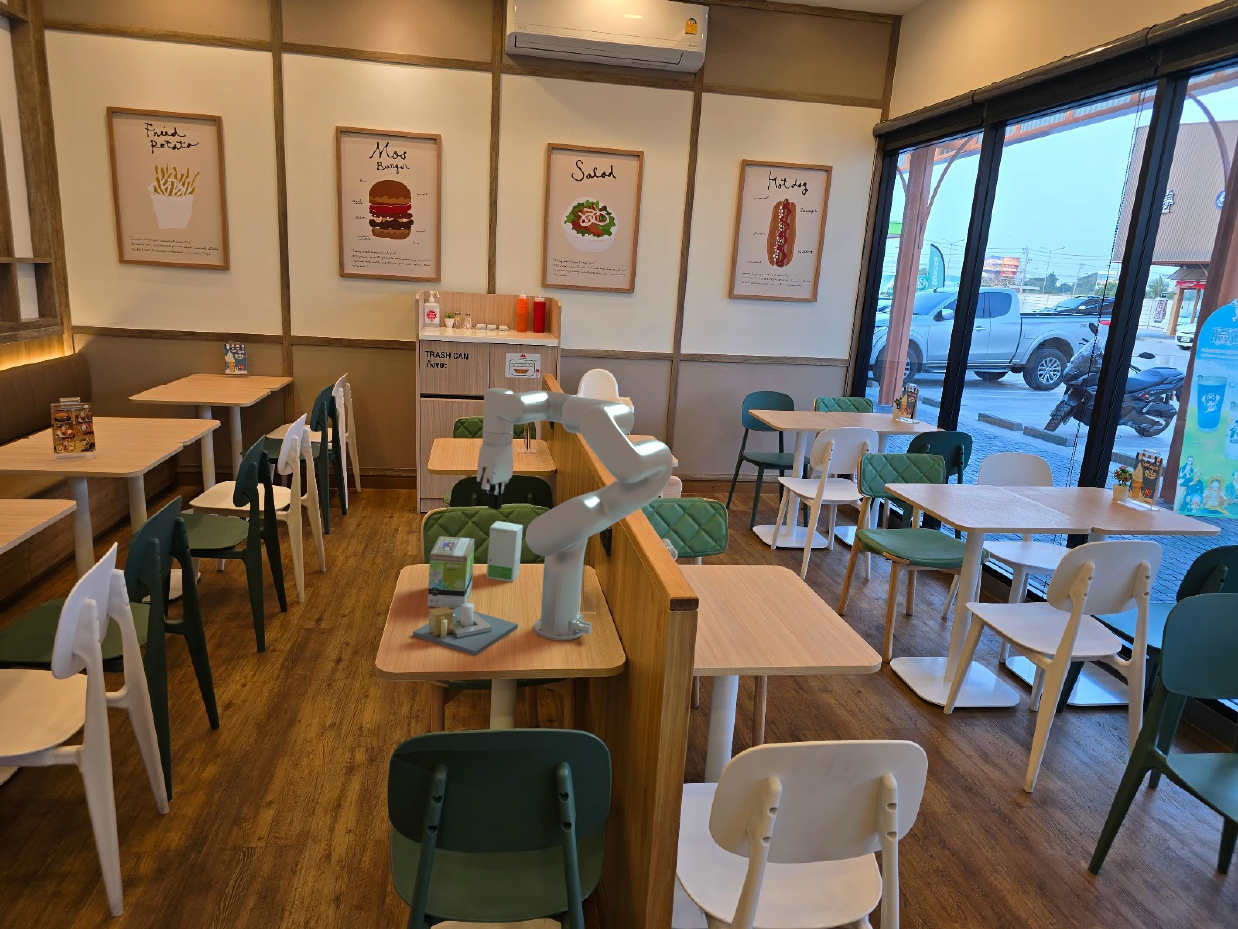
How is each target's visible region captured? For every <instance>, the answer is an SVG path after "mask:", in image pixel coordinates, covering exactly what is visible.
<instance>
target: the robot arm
mask: <svg viewBox="0 0 1238 929" xmlns="http://www.w3.org/2000/svg"><path fill="white" fill-rule="evenodd" d="M482 419H483V422H482V441H481V442H482V444H481V445H480V448H479V454H478V460H477V468H476V469H477V471H476V481H477V482H478V483H482V484H481V489H482V490H486V492H487V493H486V494H487V508H488V509H492V510H495V511H497V510H499V509H502V505H503V493H504V492H505V491H504V490H505V486H506V485H507V484H508V483H509V482H510V479H511V478H513V473H514V472H513V471H514V448H513V444H514V443H513V442H514V425H523V424H528V423H534V422H539V421H540V422H541V421H548V422H553V423H554V422H555V423H560V424H562V427H563V428H564V430H565V431H567V432H568V433H572V434H579V435H581V436H582V438H583V440H584V441H585V443H586V444H587V445H588V447H589V448H590V450H592V452H593V453H594V454H595V455H596V457H597V458H598V460H599V461H600V462H601V463H602V465H603V466H604V467H605V469H606V470H607V471H608V473H609V474H610V475H611V476H612V477H614V478H615V479H616V480H614V481H613V482H611V483H609V484H607V485H605V486H603V487H602V488H599V489H597V490H594V491H590V492H587V493H584V494H581V495H578V496H575V497H572V498H570V499H568V500H565V501H564V502H562V503H560V504H559V505H557V506H555V507H553V508H551V509H550V510H547V511H546V512H544V513H542V514H540V515H539V516H536V517H535V518H533V520H531V521H530V523H529V524H528V526H527V528H526V532H525V542H526V545H527V546H528V548H529V550H531V551H532V553H534V554H536V555H537V556H541V557H544V565H543V577H542V578H543V579H542V593H541V594H542V595H541V609H540V610H541V611H540V613H541V614H540V618H539V619H537V620H536V621H535V622H534V624H533V630H534V632H535V634H537V635H538V636H539V637H541V638H543V639H544V638H545V639H547V640H552V641H571V640H576V639H578V638H580V637H581V636H583V635H584V634H588V635H591V634H592V631H593V623H592V622H589V621H585V620H584V614H583V613H581V596H582V586H583V584H582V582H583V571H584V561H585V560H584V558H585V552H586V548H587V543H588V540H589V537H592V536H594V535H596V534H599V533H601V532H602V531H603V532H604V530H607V529H608V528H609V527H611V526H612V525H613V524H616V523H617V522H619V521H620V520H622V519H624V518H627V517H628V516H630V515H632V514H633V513H635V512H637V511H639V510H641V509H642V508H644V507H646V506H648V505H649V504H650V503H652V502H653V501H654V500H656V498H658V497H659V496H660V495H661V494H662V493H663V491H664V490H665V489H666V487H667V485H668V484H669V482H670V479H671V478H672V477H671V476H672V473H673V468H674V467H673V466H674V459H673V455H672V452H671V449H670V448H669V446H668V445H666V444H665V443H664V442H662V441H660V440H658V439H644V440H639V441H636V442H630V440H629V439H628V438H627V437H626V436H627V435H628V434H629V433H630V432H631V431H632V430H633V427H634V425H635V416H634V412H633V411H632V409H631V408H630V407H629V406H628V405H626V404H624V403H622V402H619V401H614V400H613V401H612V400H605V399H599V398H598V399H595V398H590V397H589V398H588V397H583V396H582V397H581V396H574V395H573V394H572V395H571V394H569V393H565V392H559V391H550V390H540V389H539V390H530V391H523V392H514V391H513V390H512V389H509V388H504V387H503V388H502V387H490V388H488V389H486V390H485V392H484V396H483V418H482Z"/></svg>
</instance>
